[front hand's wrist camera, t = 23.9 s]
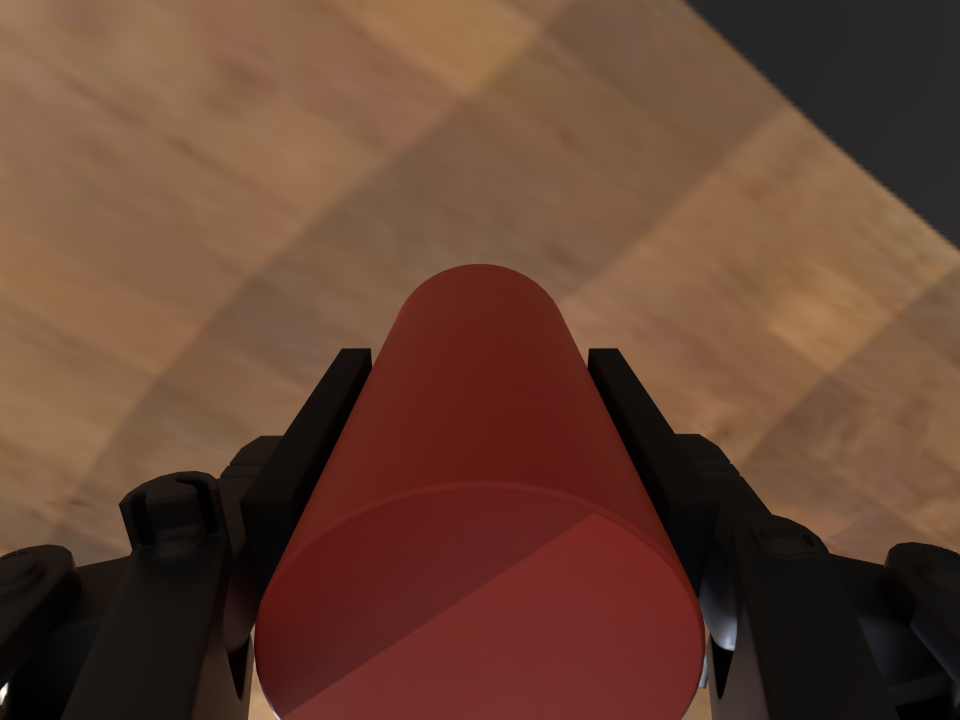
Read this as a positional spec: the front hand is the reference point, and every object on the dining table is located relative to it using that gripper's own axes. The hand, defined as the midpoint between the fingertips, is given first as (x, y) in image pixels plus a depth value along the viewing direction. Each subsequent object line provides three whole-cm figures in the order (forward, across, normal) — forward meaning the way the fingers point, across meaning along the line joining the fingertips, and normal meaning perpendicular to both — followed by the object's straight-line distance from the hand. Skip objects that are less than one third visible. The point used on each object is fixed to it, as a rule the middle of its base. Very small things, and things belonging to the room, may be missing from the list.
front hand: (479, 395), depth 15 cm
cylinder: (+3, 0, 0) cm, 3 cm away
